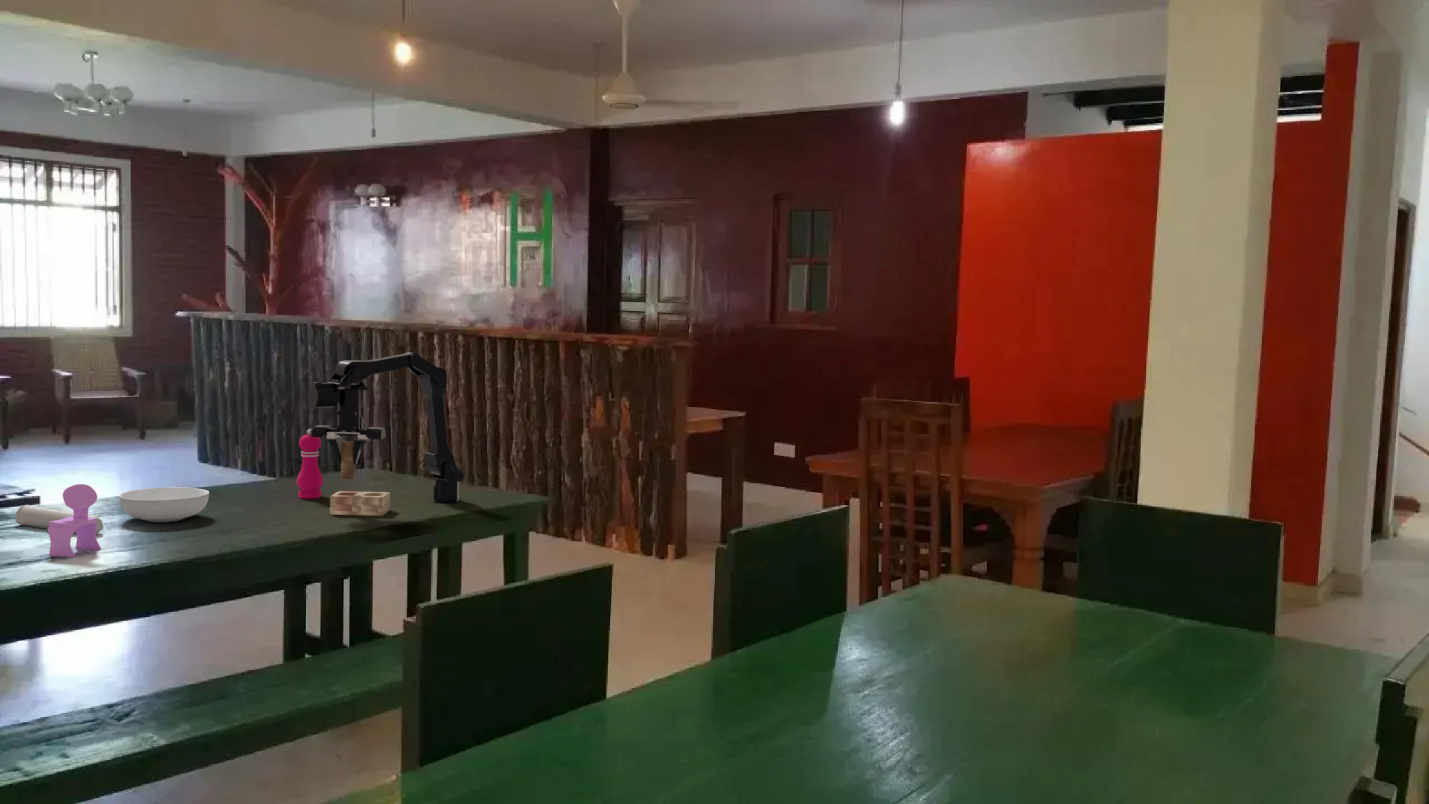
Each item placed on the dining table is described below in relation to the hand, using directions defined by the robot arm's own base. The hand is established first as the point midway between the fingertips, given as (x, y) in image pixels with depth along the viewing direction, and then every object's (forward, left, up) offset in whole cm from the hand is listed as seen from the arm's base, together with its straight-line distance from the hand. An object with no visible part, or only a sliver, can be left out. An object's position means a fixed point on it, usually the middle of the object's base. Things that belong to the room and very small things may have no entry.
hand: (348, 463), depth 297 cm
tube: (+60, +30, -14) cm, 69 cm away
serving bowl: (+43, +14, -14) cm, 47 cm away
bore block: (-3, 0, -13) cm, 14 cm away
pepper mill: (+17, -22, -14) cm, 31 cm away
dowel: (0, 0, -4) cm, 4 cm away
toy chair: (+46, +53, -14) cm, 71 cm away
